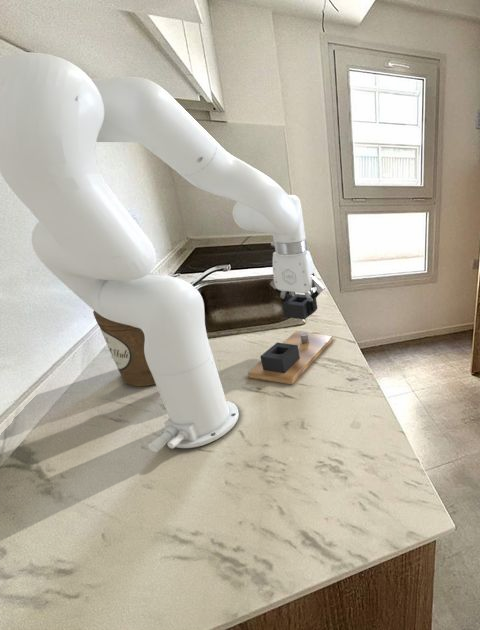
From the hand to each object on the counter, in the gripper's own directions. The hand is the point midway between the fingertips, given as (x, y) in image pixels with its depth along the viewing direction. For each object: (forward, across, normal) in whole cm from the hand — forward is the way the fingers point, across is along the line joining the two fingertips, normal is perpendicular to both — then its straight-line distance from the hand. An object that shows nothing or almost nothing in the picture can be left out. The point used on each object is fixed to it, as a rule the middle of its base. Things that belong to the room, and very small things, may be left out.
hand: (301, 311), depth 91 cm
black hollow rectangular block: (+10, 0, -12) cm, 15 cm away
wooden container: (+11, -30, -19) cm, 37 cm away
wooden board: (+11, 0, -6) cm, 13 cm away
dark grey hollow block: (+1, 0, 0) cm, 1 cm away
